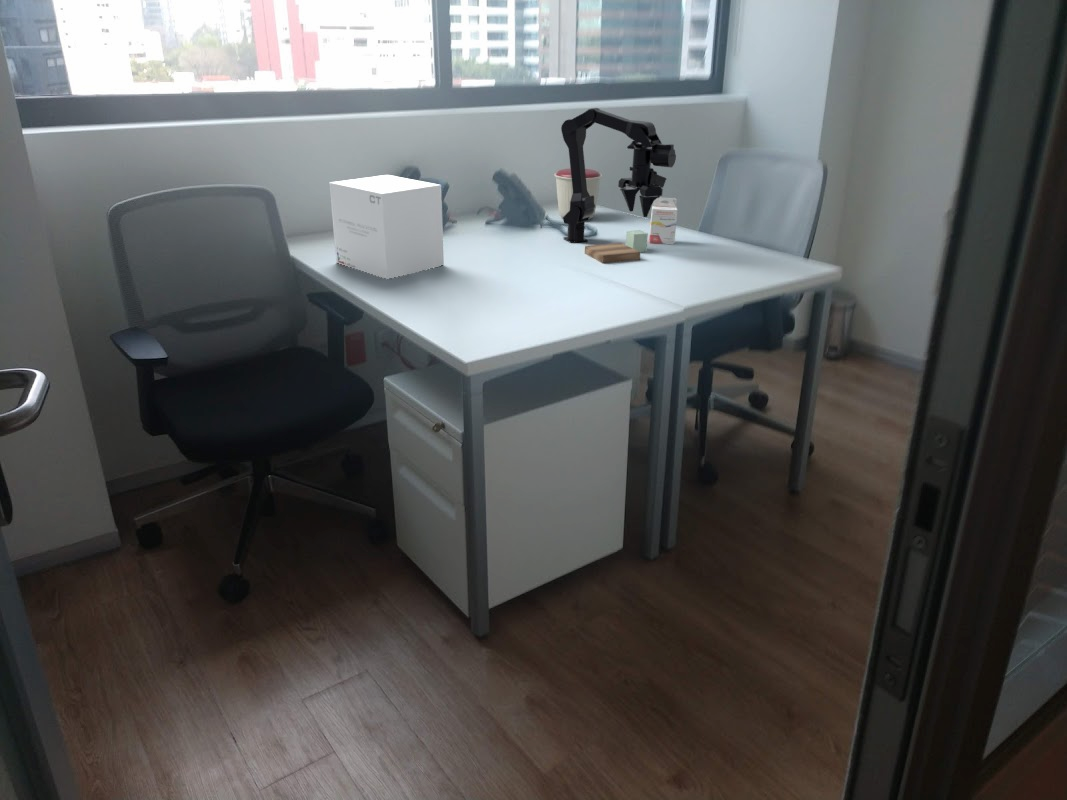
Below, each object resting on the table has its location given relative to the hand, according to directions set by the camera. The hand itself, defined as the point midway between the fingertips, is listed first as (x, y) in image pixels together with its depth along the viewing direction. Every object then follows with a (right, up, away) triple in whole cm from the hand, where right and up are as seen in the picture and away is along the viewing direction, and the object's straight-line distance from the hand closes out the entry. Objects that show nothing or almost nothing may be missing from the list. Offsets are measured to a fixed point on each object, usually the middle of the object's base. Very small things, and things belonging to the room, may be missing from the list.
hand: (638, 214), depth 261 cm
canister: (-17, +10, +50) cm, 53 cm away
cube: (-77, -20, -16) cm, 81 cm away
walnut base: (-9, -15, -3) cm, 18 cm away
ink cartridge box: (+10, -6, +16) cm, 20 cm away
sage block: (0, -11, +5) cm, 12 cm away
